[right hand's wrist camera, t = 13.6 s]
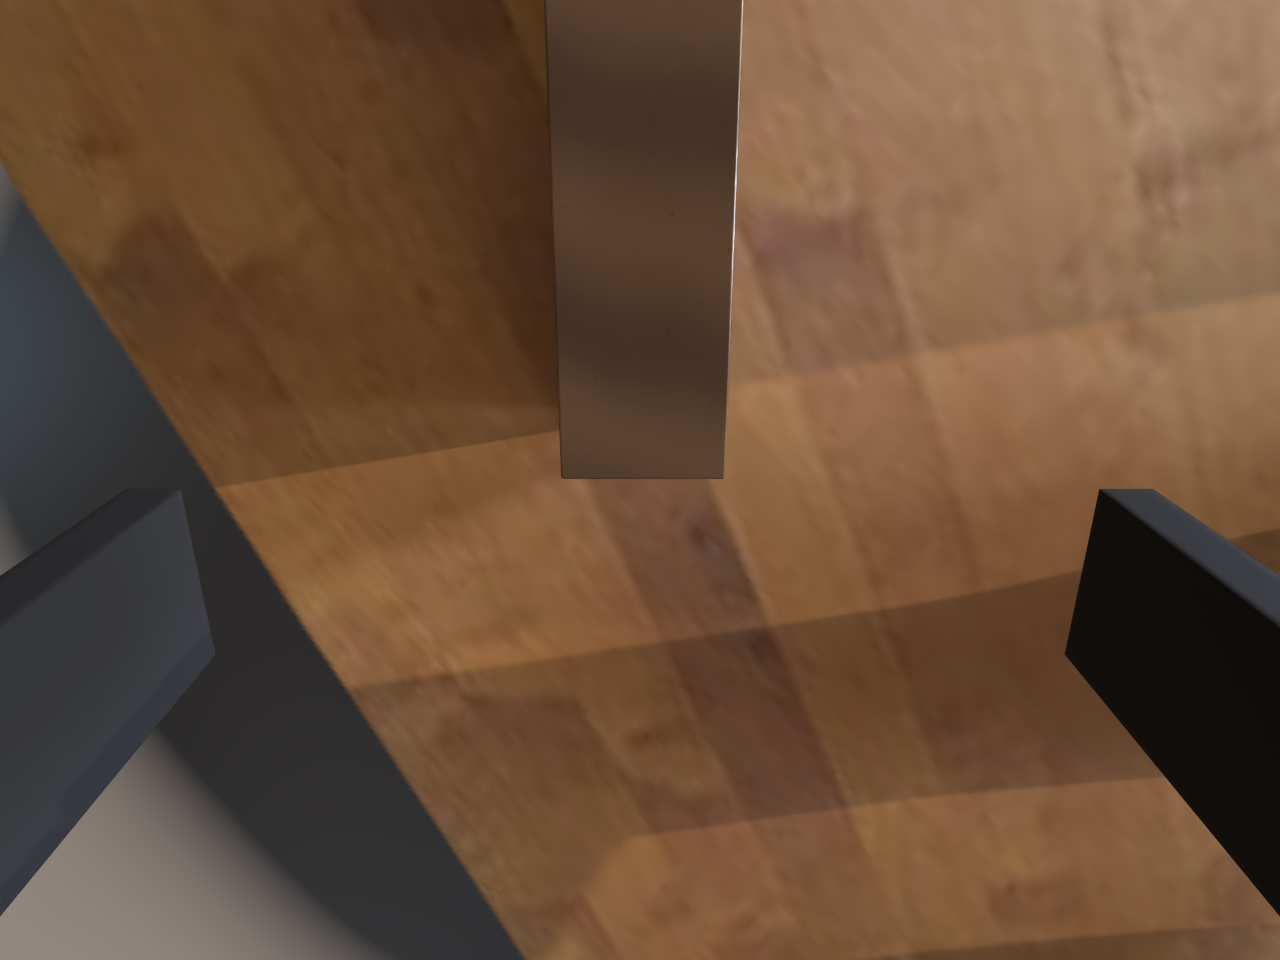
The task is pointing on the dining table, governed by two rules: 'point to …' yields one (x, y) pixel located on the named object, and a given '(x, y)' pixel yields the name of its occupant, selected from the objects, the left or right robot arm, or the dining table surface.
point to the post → (643, 231)
